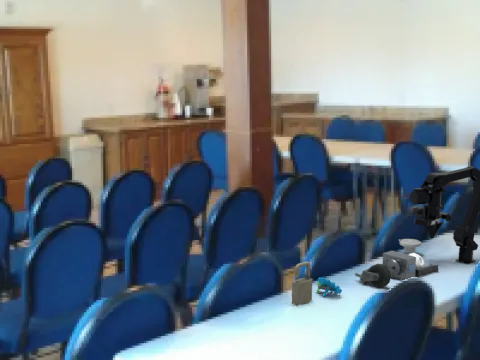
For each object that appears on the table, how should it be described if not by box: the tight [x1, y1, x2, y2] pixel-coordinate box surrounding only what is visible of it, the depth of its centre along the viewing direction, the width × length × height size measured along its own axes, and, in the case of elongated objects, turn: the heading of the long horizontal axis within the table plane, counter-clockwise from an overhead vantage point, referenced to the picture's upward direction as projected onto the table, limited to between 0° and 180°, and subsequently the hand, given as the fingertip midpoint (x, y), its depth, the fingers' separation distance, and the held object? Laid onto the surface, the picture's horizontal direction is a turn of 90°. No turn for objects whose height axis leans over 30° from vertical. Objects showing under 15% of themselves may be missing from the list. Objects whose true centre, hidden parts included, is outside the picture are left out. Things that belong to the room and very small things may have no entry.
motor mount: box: [382, 250, 439, 281], centre depth 285 cm, size 23×15×9 cm, turn 130°
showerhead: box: [398, 238, 422, 255], centre depth 312 cm, size 9×7×10 cm
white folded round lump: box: [409, 252, 425, 269], centre depth 288 cm, size 8×8×8 cm
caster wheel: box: [354, 263, 392, 289], centre depth 270 cm, size 6×10×15 cm
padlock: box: [291, 261, 313, 306], centre depth 251 cm, size 4×8×15 cm, turn 131°
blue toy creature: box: [315, 276, 343, 298], centre depth 258 cm, size 11×6×10 cm
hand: (431, 238), depth 295 cm, fingers closed
